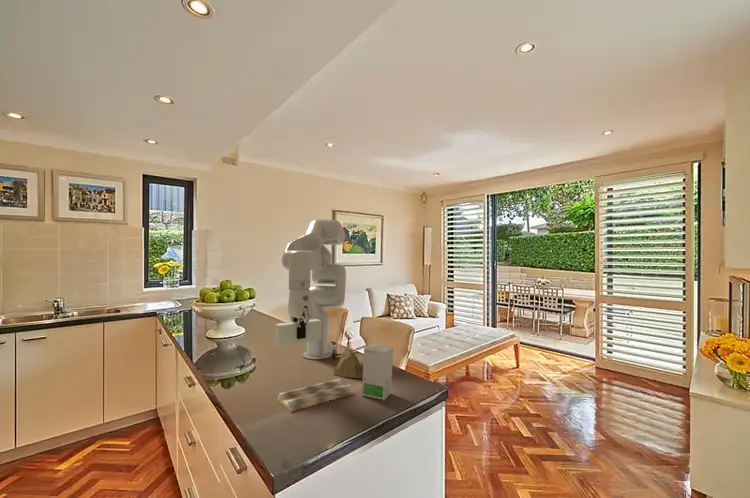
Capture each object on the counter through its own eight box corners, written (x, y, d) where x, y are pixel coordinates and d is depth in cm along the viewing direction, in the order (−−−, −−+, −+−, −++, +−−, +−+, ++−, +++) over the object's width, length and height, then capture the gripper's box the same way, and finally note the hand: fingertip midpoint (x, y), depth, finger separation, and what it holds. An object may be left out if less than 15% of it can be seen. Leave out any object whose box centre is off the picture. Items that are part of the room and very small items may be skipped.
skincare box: (361, 396, 110) (362, 347, 110) (369, 388, 116) (370, 343, 116) (385, 400, 106) (386, 351, 107) (392, 393, 112) (393, 346, 113)
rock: (370, 371, 127) (358, 360, 136) (360, 355, 124) (348, 345, 132) (349, 392, 123) (337, 379, 132) (337, 376, 120) (326, 365, 128)
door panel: (316, 337, 127) (316, 318, 127) (321, 339, 124) (321, 320, 124) (274, 344, 117) (275, 324, 117) (278, 346, 114) (279, 325, 114)
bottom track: (337, 384, 119) (337, 377, 119) (353, 393, 111) (353, 386, 111) (277, 400, 106) (277, 392, 106) (290, 411, 98) (290, 403, 98)
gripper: (320, 287, 116) (319, 340, 116) (299, 283, 129) (298, 331, 129) (300, 288, 112) (299, 343, 111) (280, 284, 125) (279, 334, 124)
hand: (298, 336), depth 120 cm, fingers closed on door panel, 3 cm apart
